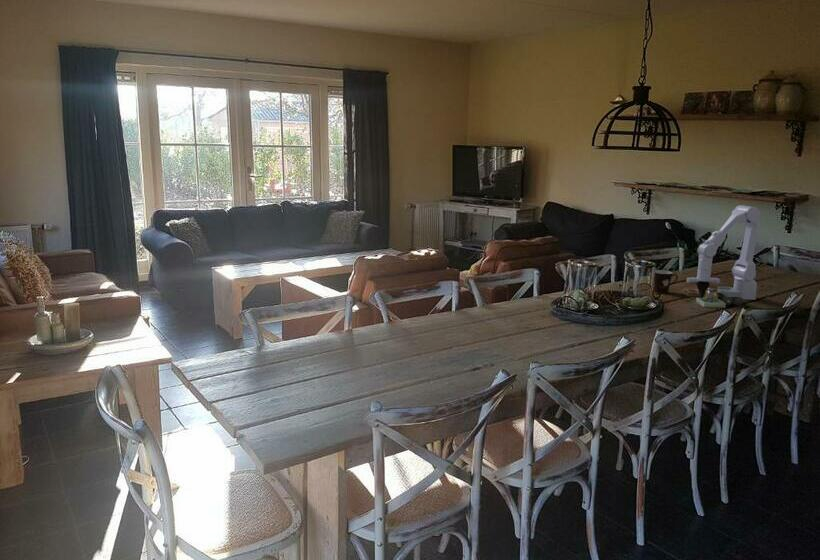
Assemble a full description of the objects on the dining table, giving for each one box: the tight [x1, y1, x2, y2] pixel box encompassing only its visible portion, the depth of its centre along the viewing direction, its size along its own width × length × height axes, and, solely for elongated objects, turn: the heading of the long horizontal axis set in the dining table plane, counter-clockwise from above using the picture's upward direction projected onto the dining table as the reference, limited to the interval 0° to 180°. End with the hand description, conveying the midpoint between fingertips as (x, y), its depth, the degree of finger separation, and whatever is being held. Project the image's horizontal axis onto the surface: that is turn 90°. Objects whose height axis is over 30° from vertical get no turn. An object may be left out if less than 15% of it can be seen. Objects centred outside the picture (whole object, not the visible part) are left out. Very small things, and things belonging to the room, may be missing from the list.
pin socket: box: [682, 288, 700, 298], centre depth 319 cm, size 7×7×2 cm
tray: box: [695, 297, 727, 309], centre depth 300 cm, size 10×10×2 cm
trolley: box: [714, 286, 744, 307], centre depth 304 cm, size 9×12×6 cm
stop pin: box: [707, 287, 716, 303], centre depth 300 cm, size 3×3×7 cm
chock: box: [703, 290, 718, 298], centre depth 308 cm, size 5×5×4 cm
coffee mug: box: [653, 269, 679, 294], centre depth 323 cm, size 12×9×10 cm
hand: (701, 297), depth 309 cm, fingers closed
